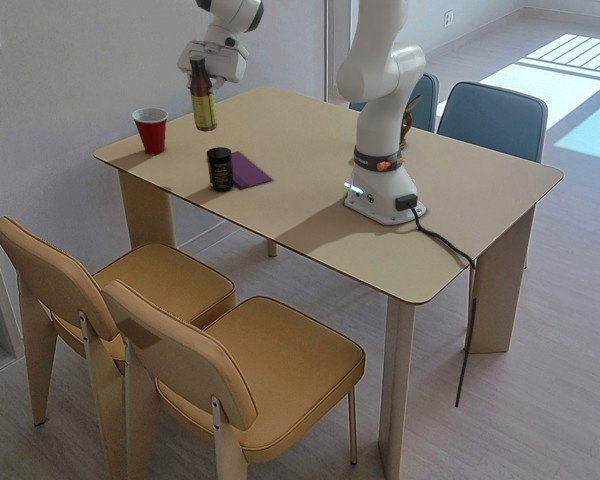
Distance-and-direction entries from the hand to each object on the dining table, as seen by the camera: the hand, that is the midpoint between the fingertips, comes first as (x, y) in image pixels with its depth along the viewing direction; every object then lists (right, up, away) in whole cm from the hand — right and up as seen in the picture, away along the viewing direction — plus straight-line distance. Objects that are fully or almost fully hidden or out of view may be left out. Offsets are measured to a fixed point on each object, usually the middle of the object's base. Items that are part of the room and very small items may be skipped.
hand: (200, 91), depth 177 cm
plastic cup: (-18, -11, +25) cm, 33 cm away
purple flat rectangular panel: (+9, -19, +14) cm, 25 cm away
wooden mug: (+57, -10, +24) cm, 62 cm away
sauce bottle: (+1, -8, +7) cm, 11 cm away
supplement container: (+5, -25, +6) cm, 26 cm away
